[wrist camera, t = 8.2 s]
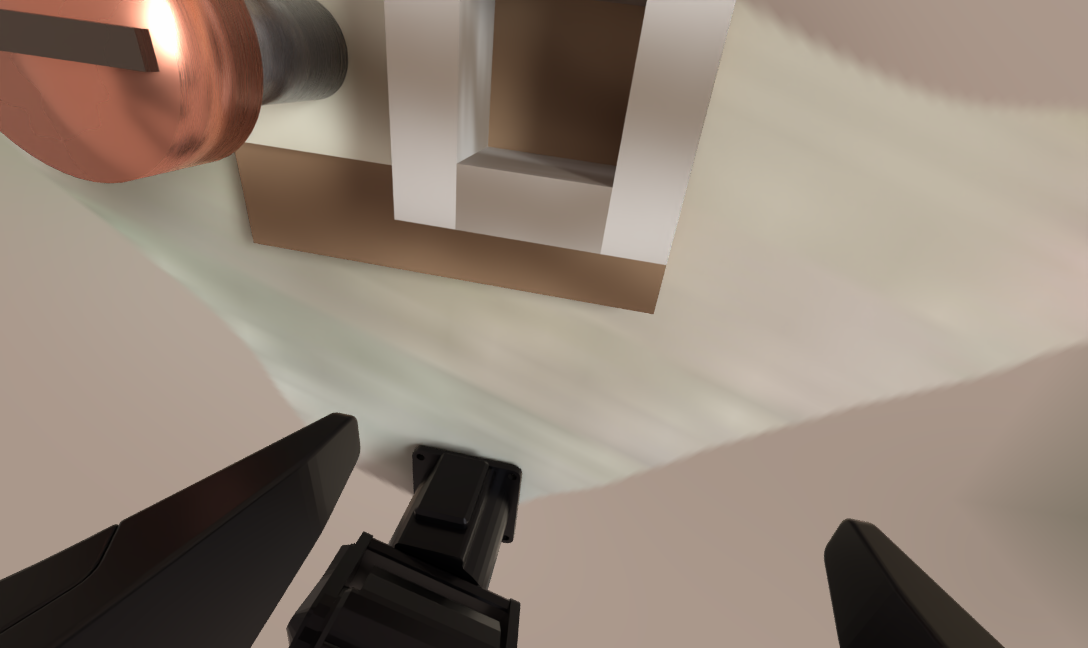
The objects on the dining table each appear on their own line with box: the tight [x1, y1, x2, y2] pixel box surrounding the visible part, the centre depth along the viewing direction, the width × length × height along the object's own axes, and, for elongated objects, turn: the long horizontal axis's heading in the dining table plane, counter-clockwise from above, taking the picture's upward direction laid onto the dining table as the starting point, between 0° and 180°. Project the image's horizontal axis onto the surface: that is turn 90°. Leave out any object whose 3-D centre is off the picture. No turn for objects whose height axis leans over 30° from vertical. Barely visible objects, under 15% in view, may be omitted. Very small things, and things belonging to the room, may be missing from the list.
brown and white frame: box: [235, 0, 736, 314], centre depth 15 cm, size 16×18×5 cm
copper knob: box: [0, 0, 348, 183], centre depth 12 cm, size 6×6×9 cm
